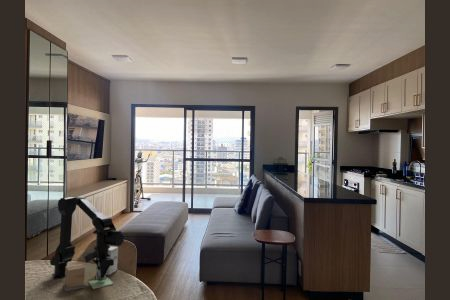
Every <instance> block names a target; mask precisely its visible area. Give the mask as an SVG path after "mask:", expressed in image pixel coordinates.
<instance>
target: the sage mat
mask: <svg viewBox="0 0 450 300" xmlns="http://www.w3.org/2000/svg"><path fill="white" fill-rule="evenodd" d="M88 285H90V287H91V286H92V287H91V288H92V289H93V290H94V289H99V288H103V287H104V288H105V287H108V286H113V285H114V282H113V281H112V280H111V279H110V278H109V277H107V276H106V279H105V280H102V281H97V280H96V279H93V280H89V281H88Z"/></svg>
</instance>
